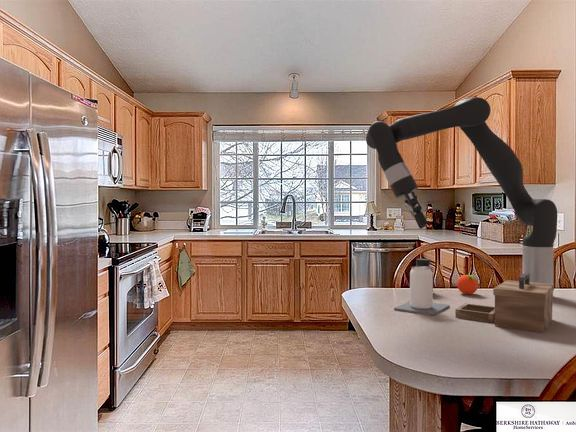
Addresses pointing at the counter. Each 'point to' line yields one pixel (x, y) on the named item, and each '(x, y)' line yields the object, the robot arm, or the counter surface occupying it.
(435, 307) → the mat
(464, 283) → the clementine
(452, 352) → the counter surface
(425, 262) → the supplement bottle
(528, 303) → the toolbox
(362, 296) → the counter surface
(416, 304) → the can
